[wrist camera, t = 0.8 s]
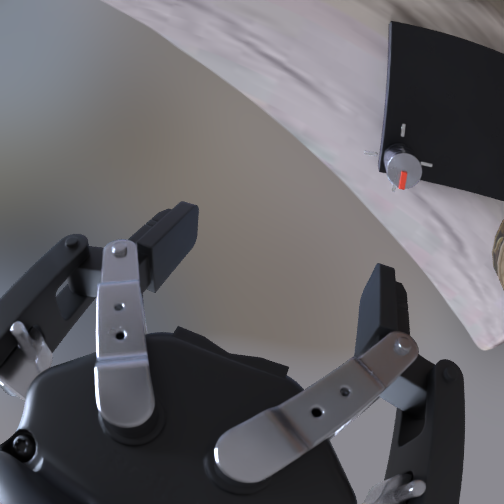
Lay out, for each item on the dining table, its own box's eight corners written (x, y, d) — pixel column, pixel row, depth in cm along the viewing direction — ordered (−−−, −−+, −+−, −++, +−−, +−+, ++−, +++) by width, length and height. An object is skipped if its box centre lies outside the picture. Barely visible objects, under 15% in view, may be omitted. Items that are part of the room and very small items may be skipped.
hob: (371, 21, 24) (372, 17, 22) (521, 65, 19) (531, 66, 17) (360, 177, 35) (360, 185, 33) (495, 207, 30) (502, 217, 28)
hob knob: (385, 139, 29) (389, 150, 25) (417, 145, 28) (425, 158, 24) (381, 170, 31) (383, 186, 27) (411, 176, 30) (418, 193, 26)
